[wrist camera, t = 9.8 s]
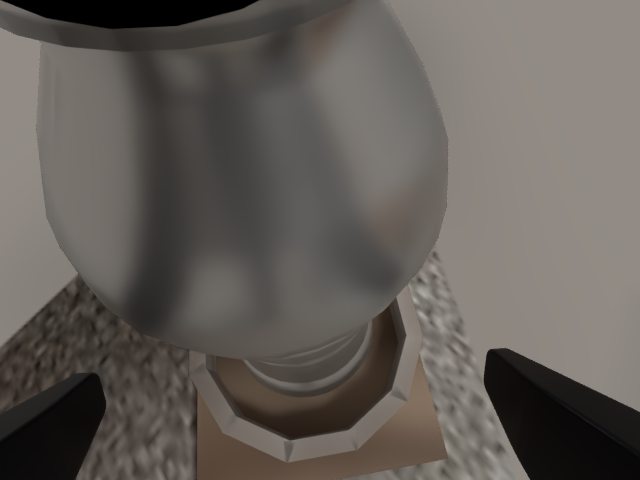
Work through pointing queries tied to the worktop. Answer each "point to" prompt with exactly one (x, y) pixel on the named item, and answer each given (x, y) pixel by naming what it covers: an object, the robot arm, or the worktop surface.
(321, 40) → the silver bottle
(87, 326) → the worktop surface
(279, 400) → the square coaster with ring
